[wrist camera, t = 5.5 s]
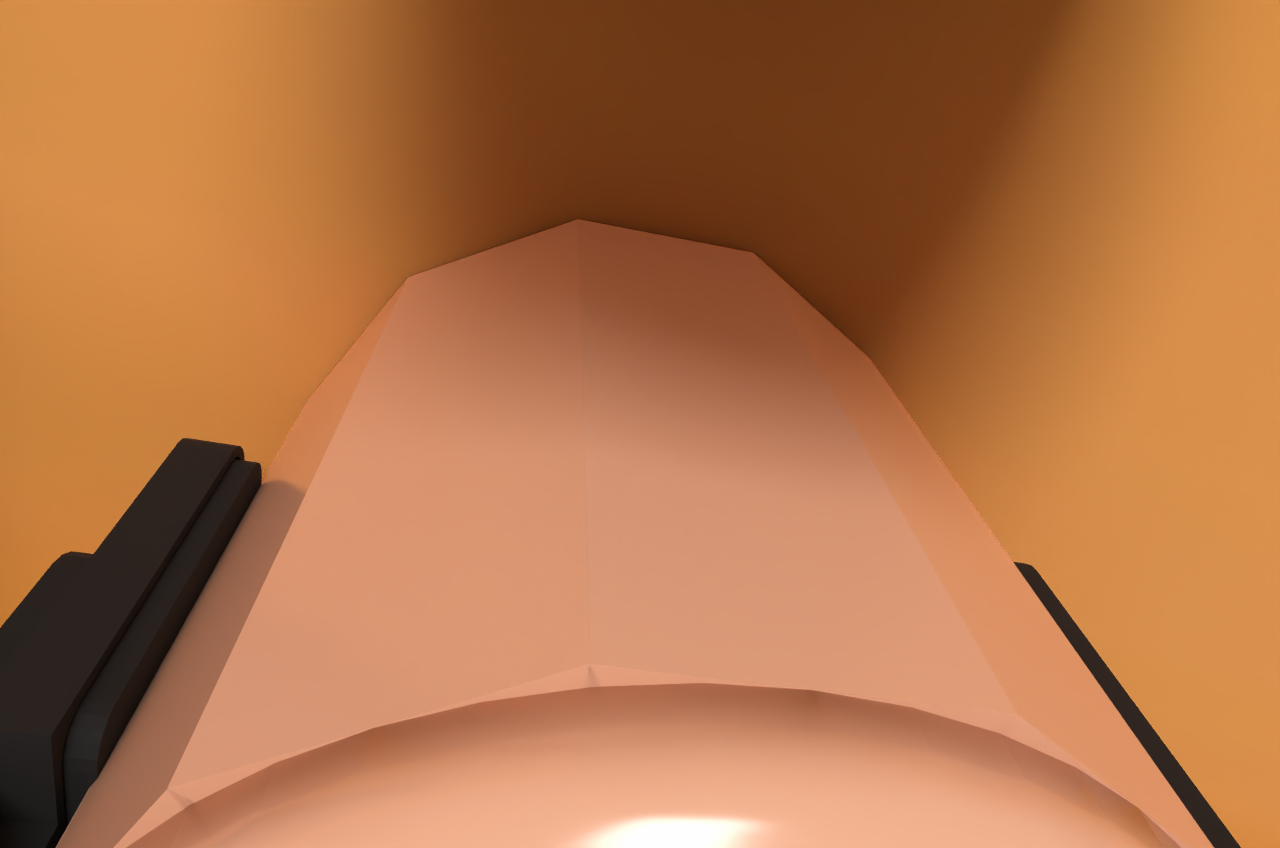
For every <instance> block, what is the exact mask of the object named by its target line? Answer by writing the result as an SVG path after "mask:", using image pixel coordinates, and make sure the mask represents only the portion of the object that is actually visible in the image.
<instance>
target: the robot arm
mask: <svg viewBox="0 0 1280 848" xmlns="http://www.w3.org/2000/svg"><path fill="white" fill-rule="evenodd" d="M261 479H262V471H261V465H260V464H259V463H256V462H249V461H244V452H243V449H242V448H241V446H236V445H229V444H222V443H216V442H209V441H202V440H195V439H189V438H184V439H182V440H181V441H180V442H179V443H178V444H177V445H176V446H175V448H174V449H173V450H172V452H171V453H170V454H169V456H168V457H167V458H166V459H165V461H164V462H163V463H162V465H161V466H160V467H159V469H158V470H157V471H156V473H155V474H154V475H153V477H152V478H151V479H150V481H149V482H148V483H147V484H146V486H145V487H144V488H143V490H142V491H141V492H140V494H139V495H138V496H137V498H136V499H135V500H134V502H133V503H132V504H131V506H130V507H129V508H128V509H127V511H126V512H125V513H124V515H123V516H122V517H121V519H120V520H119V521H118V523H117V524H116V525H115V527H114V528H113V529H112V531H111V532H110V533H109V535H108V536H107V537H106V538H105V540H104V541H103V542H102V544H101V545H100V546H99V548H98V549H97V550H96V552H95V553H94V554H88V553H80V552H72V551H71V552H68V553H65V554H62V555H61V556H60V557H59V558H58V559H57V560H56V561H55V562H54V563H53V564H52V565H51V566H50V568H49V569H48V570H47V571H46V572H45V574H44V575H43V576H42V577H41V579H40V580H39V581H38V582H37V584H36V585H35V586H34V587H33V588H32V590H31V591H30V592H29V593H28V595H27V596H26V597H25V598H24V600H23V601H22V602H21V603H20V604H19V606H18V607H17V608H16V609H15V611H14V612H13V613H12V614H11V616H10V617H9V618H8V619H7V620H6V622H5V623H4V624H3V625H2V627H1V628H0V848H56V846H57V845H58V843H59V841H60V839H61V838H62V836H63V834H64V832H65V830H66V829H67V827H68V825H69V823H70V822H71V820H72V818H73V816H74V814H75V813H76V811H77V809H78V807H79V806H80V804H81V802H82V800H83V798H84V797H85V795H86V793H87V791H88V790H89V788H90V787H91V785H92V784H93V783H94V782H95V781H96V780H97V778H98V777H99V775H100V773H101V771H102V769H103V768H104V766H105V764H106V762H107V760H108V759H109V757H110V755H111V753H112V751H113V750H114V748H115V746H116V744H117V742H118V741H119V739H120V737H121V735H122V734H123V732H124V730H125V728H126V726H127V725H128V723H129V721H130V719H131V717H132V716H133V714H134V712H135V710H136V708H137V707H138V705H139V703H140V701H141V699H142V698H143V696H144V694H145V692H146V690H147V689H148V687H149V685H150V683H151V681H152V680H153V678H154V676H155V674H156V672H157V671H158V669H159V667H160V665H161V663H162V662H163V660H164V658H165V656H166V655H167V653H168V651H169V649H170V647H171V646H172V644H173V642H174V640H175V638H176V637H177V635H178V633H179V631H180V629H181V628H182V626H183V624H184V622H185V620H186V619H187V617H188V615H189V613H190V611H191V610H192V608H193V606H194V604H195V602H196V601H197V599H198V597H199V595H200V593H201V592H202V590H203V588H204V586H205V584H206V583H207V581H208V579H209V577H210V576H211V574H212V572H213V570H214V568H215V567H216V565H217V563H218V561H219V559H220V558H221V556H222V554H223V552H224V550H225V549H226V547H227V545H228V543H229V541H230V540H231V538H232V536H233V534H234V532H235V531H236V529H237V527H238V525H239V523H240V522H241V520H242V518H243V516H244V514H245V513H246V511H247V509H248V507H249V505H250V504H251V502H252V500H253V498H254V497H255V495H256V493H257V491H258V489H259V488H260V486H261ZM1013 563H1014V564H1015V565H1016V567H1017V568H1018V570H1019V571H1020V573H1021V574H1022V575H1023V577H1024V578H1025V580H1026V581H1027V582H1028V584H1029V585H1030V587H1031V588H1032V590H1033V591H1034V592H1035V594H1036V595H1037V597H1038V598H1039V600H1040V601H1041V602H1042V604H1043V605H1044V607H1045V608H1046V609H1047V611H1048V612H1049V614H1050V615H1051V617H1052V618H1053V619H1054V621H1055V622H1056V624H1057V625H1058V627H1059V628H1060V629H1061V631H1062V632H1063V634H1064V635H1065V637H1066V638H1067V639H1068V641H1069V642H1070V644H1071V645H1072V646H1073V648H1074V649H1075V651H1076V652H1077V654H1078V655H1079V656H1080V658H1081V659H1082V661H1083V662H1084V664H1085V665H1086V666H1087V668H1088V669H1089V671H1090V672H1091V674H1092V675H1093V676H1094V678H1095V679H1096V681H1097V682H1098V683H1099V685H1100V686H1101V688H1102V689H1103V691H1104V692H1105V693H1106V695H1107V696H1108V698H1109V699H1110V701H1111V702H1112V703H1113V705H1114V706H1115V708H1116V709H1117V710H1118V712H1119V713H1120V715H1121V716H1122V718H1123V719H1124V720H1125V722H1126V723H1127V725H1128V726H1129V728H1130V729H1131V730H1132V732H1133V733H1134V735H1135V736H1136V738H1137V739H1138V740H1139V742H1140V743H1141V745H1142V746H1143V747H1144V749H1145V750H1146V752H1147V753H1148V755H1149V756H1150V757H1151V759H1152V760H1153V762H1154V763H1155V765H1156V766H1157V767H1158V769H1159V770H1160V772H1161V773H1162V775H1163V776H1164V777H1165V779H1166V780H1167V782H1168V783H1169V784H1170V786H1171V787H1172V789H1173V790H1174V792H1175V793H1176V794H1177V796H1178V797H1179V799H1180V800H1181V802H1182V803H1183V804H1184V806H1185V807H1186V809H1187V810H1188V811H1189V813H1190V814H1191V816H1192V817H1193V819H1194V820H1195V821H1196V823H1197V824H1198V826H1199V827H1200V829H1201V830H1202V831H1203V833H1204V834H1205V836H1206V837H1207V839H1208V840H1209V841H1210V843H1211V844H1212V846H1213V847H1214V848H1241V847H1240V846H1239V844H1238V843H1237V842H1236V840H1235V839H1234V838H1233V836H1232V835H1231V834H1230V832H1229V831H1228V829H1227V828H1226V827H1225V825H1224V824H1223V823H1222V821H1221V820H1220V819H1219V817H1218V816H1217V815H1216V813H1215V812H1214V811H1213V809H1212V808H1211V806H1210V805H1209V804H1208V802H1207V801H1206V800H1205V798H1204V797H1203V796H1202V794H1201V793H1200V792H1199V790H1198V789H1197V787H1196V786H1195V785H1194V783H1193V782H1192V781H1191V779H1190V778H1189V777H1188V775H1187V774H1186V773H1185V771H1184V770H1183V768H1182V767H1181V766H1180V764H1179V763H1178V762H1177V760H1176V759H1175V758H1174V756H1173V755H1172V754H1171V752H1170V751H1169V749H1168V748H1167V747H1166V745H1165V744H1164V743H1163V741H1162V740H1161V739H1160V737H1159V736H1158V735H1157V733H1156V732H1155V730H1154V729H1153V728H1152V726H1151V725H1150V724H1149V722H1148V721H1147V720H1146V718H1145V717H1144V716H1143V714H1142V713H1141V711H1140V710H1139V709H1138V707H1137V706H1136V705H1135V703H1134V702H1133V701H1132V699H1131V698H1130V697H1129V695H1128V694H1127V692H1126V691H1125V690H1124V688H1123V687H1122V686H1121V684H1120V683H1119V682H1118V680H1117V679H1116V678H1115V676H1114V675H1113V673H1112V672H1111V671H1110V669H1109V668H1108V667H1107V665H1106V664H1105V663H1104V661H1103V660H1102V659H1101V657H1100V656H1099V654H1098V653H1097V652H1096V650H1095V649H1094V648H1093V646H1092V645H1091V644H1090V642H1089V641H1088V640H1087V638H1086V637H1085V635H1084V634H1083V633H1082V631H1081V630H1080V629H1079V627H1078V626H1077V625H1076V623H1075V622H1074V621H1073V619H1072V618H1071V617H1070V615H1069V614H1068V612H1067V611H1066V610H1065V608H1064V607H1063V606H1062V604H1061V603H1060V602H1059V600H1058V599H1057V598H1056V596H1055V595H1054V593H1053V592H1052V591H1051V589H1050V588H1049V587H1048V585H1047V584H1046V583H1045V581H1044V580H1043V579H1042V577H1041V576H1040V574H1039V573H1038V572H1037V570H1035V569H1034V568H1033V567H1032V566H1031V565H1028V564H1024V563H1017V562H1013Z"/></svg>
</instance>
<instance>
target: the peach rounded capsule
mask: <svg viewBox="0 0 1280 848" xmlns="http://www.w3.org/2000/svg"><path fill="white" fill-rule="evenodd" d="M56 848H1214V847H1213V846H1212V844H1211V843H1210V841H1209V840H1208V839H1207V837H1206V836H1205V834H1204V833H1203V831H1202V830H1201V829H1200V827H1199V826H1198V824H1197V823H1196V821H1195V820H1194V819H1193V817H1192V816H1191V814H1190V813H1189V811H1188V810H1187V809H1186V807H1185V806H1184V804H1183V803H1182V802H1181V800H1180V799H1179V797H1178V796H1177V794H1176V793H1175V792H1174V790H1173V789H1172V787H1171V786H1170V784H1169V783H1168V782H1167V780H1166V779H1165V777H1164V776H1163V775H1162V773H1161V772H1160V770H1159V769H1158V767H1157V766H1156V765H1155V763H1154V762H1153V760H1152V759H1151V757H1150V756H1149V755H1148V753H1147V752H1146V750H1145V749H1144V747H1143V746H1142V745H1141V743H1140V742H1139V740H1138V739H1137V738H1136V736H1135V735H1134V733H1133V732H1132V730H1131V729H1130V728H1129V726H1128V725H1127V723H1126V722H1125V720H1124V719H1123V718H1122V716H1121V715H1120V713H1119V712H1118V710H1117V709H1116V708H1115V706H1114V705H1113V703H1112V702H1111V701H1110V699H1109V698H1108V696H1107V695H1106V693H1105V692H1104V691H1103V689H1102V688H1101V686H1100V685H1099V683H1098V682H1097V681H1096V679H1095V678H1094V676H1093V675H1092V674H1091V672H1090V671H1089V669H1088V668H1087V666H1086V665H1085V664H1084V662H1083V661H1082V659H1081V658H1080V656H1079V655H1078V654H1077V652H1076V651H1075V649H1074V648H1073V646H1072V645H1071V644H1070V642H1069V641H1068V639H1067V638H1066V637H1065V635H1064V634H1063V632H1062V631H1061V629H1060V628H1059V627H1058V625H1057V624H1056V622H1055V621H1054V619H1053V618H1052V617H1051V615H1050V614H1049V612H1048V611H1047V609H1046V608H1045V607H1044V605H1043V604H1042V602H1041V601H1040V600H1039V598H1038V597H1037V595H1036V594H1035V592H1034V591H1033V590H1032V588H1031V587H1030V585H1029V584H1028V582H1027V581H1026V580H1025V578H1024V577H1023V575H1022V574H1021V573H1020V571H1019V570H1018V568H1017V567H1016V565H1015V564H1014V563H1013V561H1012V560H1011V558H1010V557H1009V555H1008V554H1007V553H1006V551H1005V550H1004V548H1003V547H1002V545H1001V544H1000V543H999V541H998V540H997V538H996V537H995V536H994V534H993V533H992V531H991V530H990V528H989V527H988V526H987V524H986V523H985V521H984V520H983V518H982V517H981V516H980V514H979V513H978V511H977V510H976V508H975V507H974V506H973V504H972V503H971V501H970V500H969V499H968V497H967V496H966V494H965V493H964V491H963V490H962V489H961V487H960V486H959V484H958V483H957V481H956V480H955V479H954V477H953V476H952V474H951V473H950V472H949V470H948V469H947V467H946V466H945V464H944V463H943V462H942V460H941V459H940V457H939V456H938V454H937V453H936V452H935V450H934V449H933V447H932V446H931V444H930V443H929V442H928V440H927V439H926V437H925V436H924V435H923V433H922V432H921V430H920V429H919V427H918V426H917V425H916V423H915V422H914V420H913V419H912V417H911V416H910V415H909V413H908V412H907V410H906V409H905V407H904V406H903V405H902V403H901V402H900V400H899V399H898V398H897V396H896V395H895V393H894V392H893V390H892V389H891V388H890V386H889V385H888V383H887V382H886V380H885V379H884V378H883V376H882V375H881V373H880V372H879V371H878V369H877V368H876V366H875V365H874V363H873V362H872V361H871V359H870V358H869V357H868V356H867V355H866V354H864V353H863V352H862V351H861V350H860V349H859V348H858V347H857V346H856V345H855V344H853V343H852V342H851V341H850V340H849V339H848V338H847V337H846V336H845V335H844V334H842V333H841V332H840V331H839V330H838V329H837V328H836V327H835V326H834V325H833V324H831V323H830V322H829V321H828V320H827V319H826V318H825V317H824V316H823V315H822V314H820V313H819V312H818V311H817V310H816V309H815V308H814V307H813V306H812V305H811V304H809V303H808V302H807V301H806V300H805V299H804V298H803V297H802V296H801V295H800V294H798V293H797V292H796V291H795V290H794V289H793V288H792V287H791V286H790V285H789V284H787V283H786V282H785V281H784V280H783V279H782V278H781V277H780V276H779V275H778V274H776V273H775V272H774V271H773V270H772V269H771V268H770V267H769V266H768V265H767V264H765V263H764V262H763V261H762V260H761V259H760V258H759V257H758V256H757V255H756V254H754V253H753V252H748V251H742V250H737V249H732V248H727V247H722V246H716V245H711V244H706V243H701V242H695V241H690V240H685V239H680V238H674V237H669V236H664V235H659V234H654V233H648V232H643V231H638V230H633V229H627V228H622V227H617V226H612V225H606V224H601V223H596V222H591V221H586V220H580V219H577V220H574V221H571V222H568V223H565V224H562V225H559V226H556V227H554V228H551V229H548V230H545V231H542V232H539V233H536V234H533V235H530V236H527V237H524V238H521V239H518V240H515V241H512V242H509V243H507V244H504V245H501V246H498V247H495V248H492V249H489V250H486V251H483V252H480V253H477V254H474V255H471V256H468V257H465V258H462V259H460V260H457V261H454V262H451V263H448V264H445V265H442V266H439V267H436V268H433V269H430V270H427V271H424V272H421V273H418V274H415V275H413V276H410V277H408V278H407V279H406V280H405V282H404V283H403V284H402V285H401V286H400V288H399V289H398V290H397V291H396V293H395V294H394V295H393V296H392V297H391V299H390V300H389V301H388V302H387V304H386V305H385V306H384V307H383V308H382V310H381V311H380V312H379V313H378V315H377V316H376V317H375V318H374V319H373V321H372V322H371V323H370V324H369V326H368V327H367V328H366V329H365V331H364V332H363V333H362V334H361V335H360V337H359V338H358V339H357V340H356V342H355V343H354V344H353V345H352V346H351V348H350V349H349V350H348V351H347V353H346V354H345V355H344V356H343V357H342V359H341V360H340V361H339V362H338V364H337V365H336V366H335V367H334V368H333V370H332V371H331V372H330V373H329V375H328V376H327V377H326V378H325V379H324V381H323V382H322V383H321V384H320V386H319V387H318V388H317V389H316V391H315V392H314V393H313V394H312V395H311V397H310V398H309V399H308V400H307V402H306V404H305V405H304V407H303V409H302V411H301V412H300V414H299V416H298V418H297V420H296V421H295V423H294V425H293V427H292V428H291V430H290V432H289V434H288V436H287V437H286V439H285V441H284V443H283V444H282V446H281V448H280V450H279V452H278V453H277V455H276V457H275V459H274V460H273V462H272V464H271V466H270V468H269V469H268V471H267V473H266V475H265V476H264V478H263V480H262V482H261V486H260V488H259V489H258V491H257V493H256V495H255V497H254V498H253V500H252V502H251V504H250V505H249V507H248V509H247V511H246V513H245V514H244V516H243V518H242V520H241V522H240V523H239V525H238V527H237V529H236V531H235V532H234V534H233V536H232V538H231V540H230V541H229V543H228V545H227V547H226V549H225V550H224V552H223V554H222V556H221V558H220V559H219V561H218V563H217V565H216V567H215V568H214V570H213V572H212V574H211V576H210V577H209V579H208V581H207V583H206V584H205V586H204V588H203V590H202V592H201V593H200V595H199V597H198V599H197V601H196V602H195V604H194V606H193V608H192V610H191V611H190V613H189V615H188V617H187V619H186V620H185V622H184V624H183V626H182V628H181V629H180V631H179V633H178V635H177V637H176V638H175V640H174V642H173V644H172V646H171V647H170V649H169V651H168V653H167V655H166V656H165V658H164V660H163V662H162V663H161V665H160V667H159V669H158V671H157V672H156V674H155V676H154V678H153V680H152V681H151V683H150V685H149V687H148V689H147V690H146V692H145V694H144V696H143V698H142V699H141V701H140V703H139V705H138V707H137V708H136V710H135V712H134V714H133V716H132V717H131V719H130V721H129V723H128V725H127V726H126V728H125V730H124V732H123V734H122V735H121V737H120V739H119V741H118V742H117V744H116V746H115V748H114V750H113V751H112V753H111V755H110V757H109V759H108V760H107V762H106V764H105V766H104V768H103V769H102V771H101V773H100V775H99V777H98V778H97V780H96V781H95V782H94V783H93V784H92V785H91V787H90V788H89V790H88V791H87V793H86V795H85V797H84V798H83V800H82V802H81V804H80V806H79V807H78V809H77V811H76V813H75V814H74V816H73V818H72V820H71V822H70V823H69V825H68V827H67V829H66V830H65V832H64V834H63V836H62V838H61V839H60V841H59V843H58V845H57V846H56Z"/></svg>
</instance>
